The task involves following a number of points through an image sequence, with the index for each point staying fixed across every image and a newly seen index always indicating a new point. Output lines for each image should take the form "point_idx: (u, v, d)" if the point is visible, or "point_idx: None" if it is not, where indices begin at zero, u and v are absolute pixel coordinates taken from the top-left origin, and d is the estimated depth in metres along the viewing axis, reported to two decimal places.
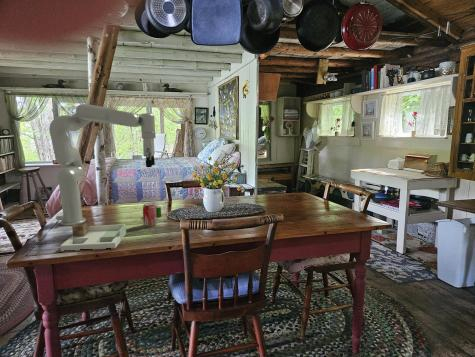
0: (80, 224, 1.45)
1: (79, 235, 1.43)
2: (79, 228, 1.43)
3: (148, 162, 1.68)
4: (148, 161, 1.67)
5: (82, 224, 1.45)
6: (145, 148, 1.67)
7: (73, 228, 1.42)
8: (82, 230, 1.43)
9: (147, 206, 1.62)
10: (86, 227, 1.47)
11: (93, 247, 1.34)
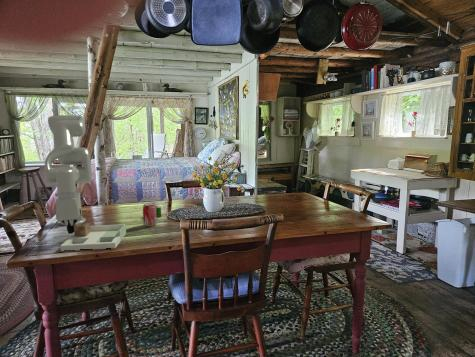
0: (82, 224, 1.45)
1: (81, 235, 1.43)
2: (81, 228, 1.43)
3: None
4: None
5: (84, 224, 1.45)
6: (78, 209, 1.42)
7: (75, 228, 1.42)
8: (84, 230, 1.43)
9: (147, 206, 1.62)
10: (88, 227, 1.47)
11: (93, 247, 1.34)
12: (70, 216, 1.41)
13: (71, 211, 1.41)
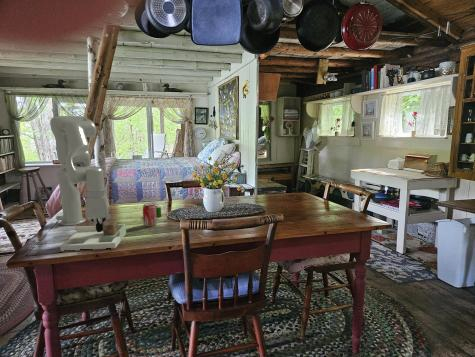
0: (110, 223, 1.46)
1: (109, 234, 1.44)
2: (109, 227, 1.44)
3: (102, 225, 1.46)
4: (102, 224, 1.46)
5: (112, 223, 1.46)
6: (107, 208, 1.44)
7: (104, 227, 1.44)
8: (112, 229, 1.44)
9: (147, 206, 1.62)
10: (116, 226, 1.48)
11: (93, 247, 1.34)
12: (99, 215, 1.42)
13: (100, 210, 1.42)
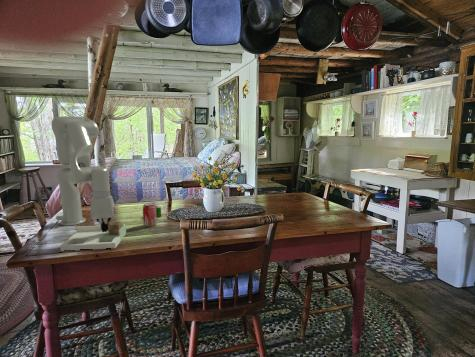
0: (115, 223, 1.46)
1: (115, 234, 1.45)
2: (115, 227, 1.44)
3: (107, 225, 1.46)
4: (107, 224, 1.46)
5: (117, 223, 1.47)
6: (113, 208, 1.44)
7: (109, 227, 1.44)
8: (118, 229, 1.44)
9: (147, 206, 1.62)
10: (121, 226, 1.48)
11: (93, 247, 1.34)
12: (105, 214, 1.43)
13: (106, 209, 1.42)
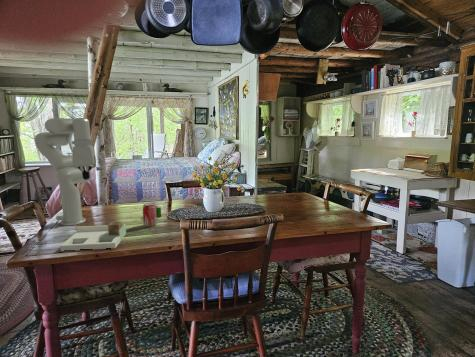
0: (115, 223, 1.46)
1: (115, 234, 1.45)
2: (115, 227, 1.44)
3: (89, 173, 1.56)
4: (88, 172, 1.56)
5: (117, 223, 1.47)
6: (93, 156, 1.54)
7: (109, 227, 1.44)
8: (118, 229, 1.44)
9: (147, 206, 1.62)
10: (121, 226, 1.48)
11: (93, 247, 1.34)
12: (86, 162, 1.52)
13: (87, 157, 1.52)
